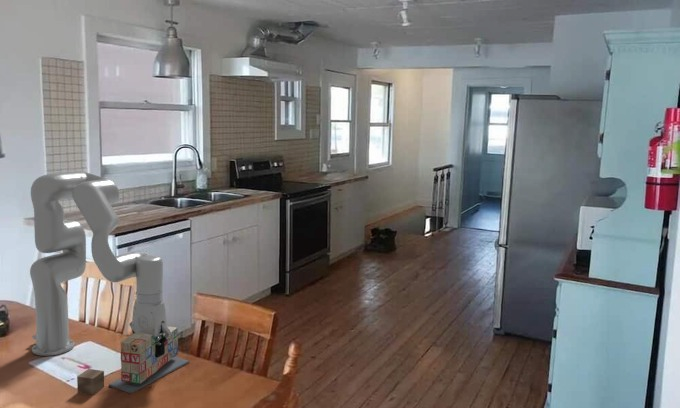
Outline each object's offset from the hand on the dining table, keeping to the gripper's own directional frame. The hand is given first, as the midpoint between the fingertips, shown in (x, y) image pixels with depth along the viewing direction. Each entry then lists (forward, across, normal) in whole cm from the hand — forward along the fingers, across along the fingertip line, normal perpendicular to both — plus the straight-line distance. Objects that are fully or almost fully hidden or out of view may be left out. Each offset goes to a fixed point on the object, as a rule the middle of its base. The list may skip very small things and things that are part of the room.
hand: (150, 352), depth 167 cm
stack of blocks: (+5, 0, 0) cm, 5 cm away
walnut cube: (+7, -7, -16) cm, 19 cm away
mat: (+7, 0, 0) cm, 7 cm away
